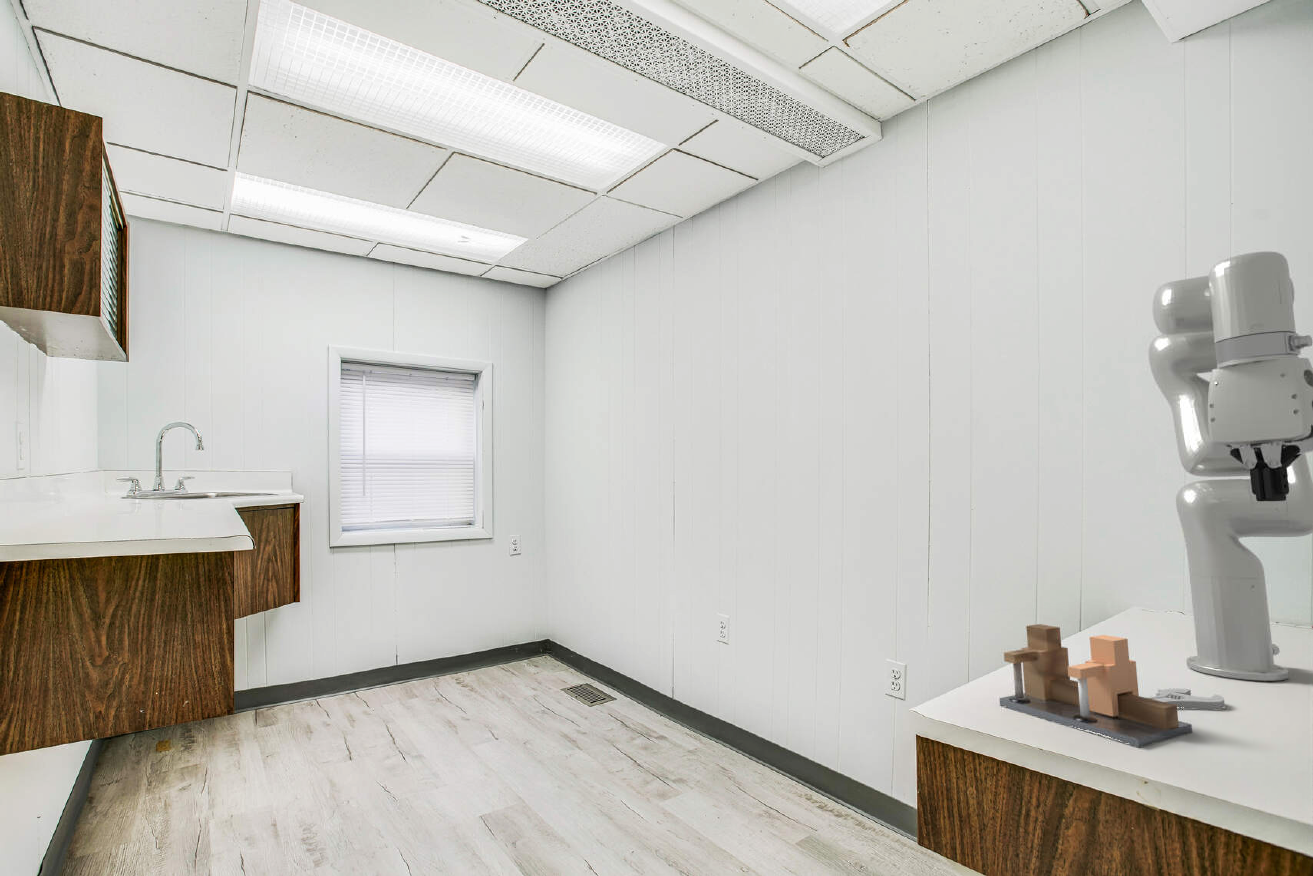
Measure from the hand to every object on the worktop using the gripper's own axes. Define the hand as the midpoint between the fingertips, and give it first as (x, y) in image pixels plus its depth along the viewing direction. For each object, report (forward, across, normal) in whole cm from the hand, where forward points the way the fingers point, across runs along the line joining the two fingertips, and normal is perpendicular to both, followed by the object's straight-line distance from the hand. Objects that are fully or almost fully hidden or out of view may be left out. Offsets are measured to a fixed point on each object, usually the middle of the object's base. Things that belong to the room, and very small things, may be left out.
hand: (1271, 500), depth 80 cm
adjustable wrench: (+29, +16, +4) cm, 33 cm away
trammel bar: (+27, +15, +14) cm, 34 cm away
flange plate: (+28, +15, +14) cm, 35 cm away
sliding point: (+27, +13, +14) cm, 33 cm away
